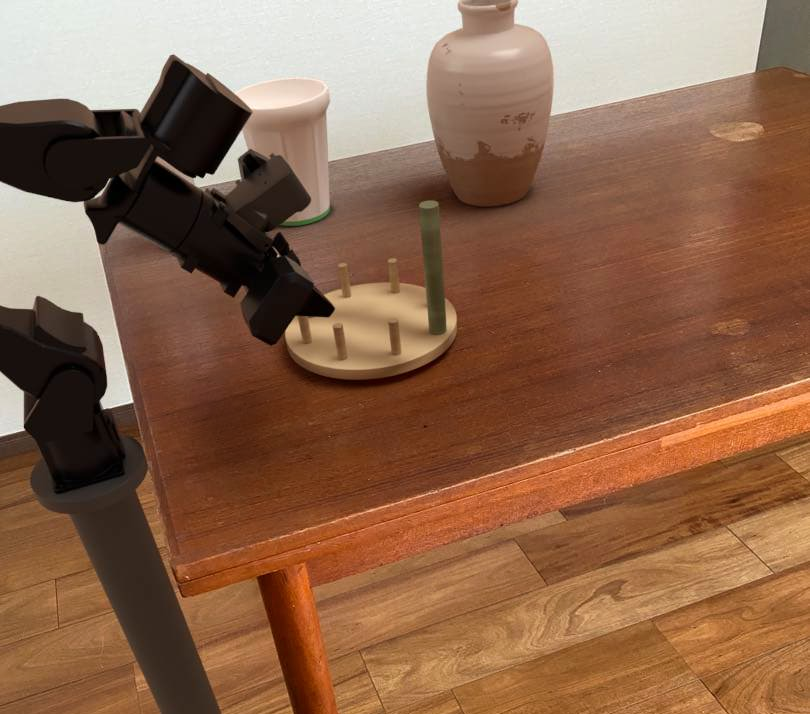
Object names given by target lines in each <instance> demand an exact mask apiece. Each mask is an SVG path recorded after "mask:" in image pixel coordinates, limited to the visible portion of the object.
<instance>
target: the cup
mask: <svg viewBox="0 0 810 714" xmlns="http://www.w3.org/2000/svg"><path fill="white" fill-rule="evenodd" d="M233 93H234V94H235V95H237V96H238V97H239V98H240V99H241V100H242V101H243V102H244V103H245V104H246V105H247V106H248V107H249V108H250V109H251V110H252V114H251V116H250V118H249V119H248V121H247V122H246V124H245V126H244V127H243V129H242V130H241V132H242V134H243V138H244V141H245V144H246V147H247V151H248V150H249V149H252V150H254V151H256V152H258V153H260V154H262V155H263V156H265V157H267V158H268V159H271V158H270V156H269V155H271V154H272V153H273V154H274V155H275V156H277V155H281V156H282V157H283V158H284V160H285V161H286V162H287V163H288V164H289V166H290V167H291V169H292V170H293V171H294V173H295V174H296V176H297V177H298V179H299V180H300V182H301V183H302V185H303V186H304V188H305V189H306V191H307V192H308V194H309V195H310V197H311V202H310V204H309V205H308V207H307V208H305V209H304V210H303V211H302V212H296V213H295V214H294V215H292V216H291V217H290V218H289V219H287V220H286V221H285V222H283V223H282V224H281V225H280V226H283V227H284V226H285V227H299V226H305V225H309V224H313V223H315V222H319V221H321V220H322V219H324V218H325V217H326V216H328V215H329V212H330V211H331V198H330V197H331V196H330V174H329V149H328V148H329V147H328V123H327V112H328V111H327V110H328V107H329V106H330V103H331V98H330V97H331V96H330V89H329V87H328V85H327V84H326V82H325V81H322V80H320V79H319V80H318V79H317V78H311V77H284V78H275V79H271V80H264V81H259V82H256V83H253V84H250V85H247V86H245V87H242V88H240V89H239V90H237V91H234V92H233Z"/></svg>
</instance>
